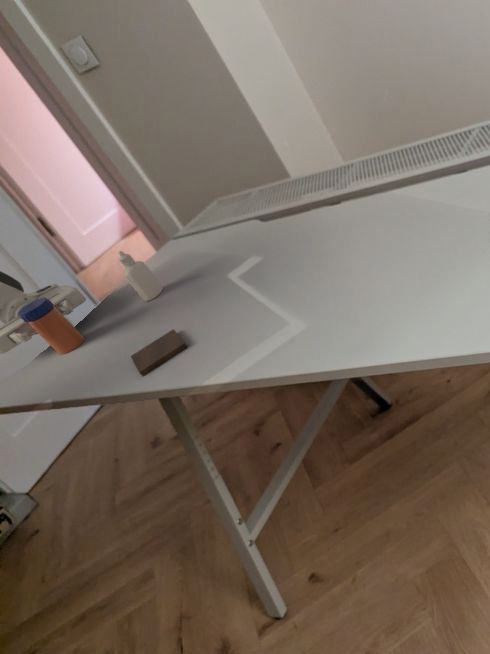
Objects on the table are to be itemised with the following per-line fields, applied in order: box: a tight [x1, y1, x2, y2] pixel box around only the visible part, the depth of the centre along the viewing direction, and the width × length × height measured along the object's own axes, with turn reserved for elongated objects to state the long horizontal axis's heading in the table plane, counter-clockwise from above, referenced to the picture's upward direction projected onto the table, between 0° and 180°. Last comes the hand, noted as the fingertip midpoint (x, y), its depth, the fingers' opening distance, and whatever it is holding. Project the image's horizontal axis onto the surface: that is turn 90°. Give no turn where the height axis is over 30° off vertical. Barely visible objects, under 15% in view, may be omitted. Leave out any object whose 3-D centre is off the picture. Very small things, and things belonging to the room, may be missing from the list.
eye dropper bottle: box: [118, 250, 164, 302], centre depth 124 cm, size 4×6×12 cm
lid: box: [18, 297, 54, 322], centre depth 113 cm, size 6×6×2 cm
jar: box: [27, 306, 85, 355], centre depth 116 cm, size 6×6×11 cm
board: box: [130, 328, 188, 377], centre depth 102 cm, size 9×9×1 cm
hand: (47, 323), depth 117 cm, fingers open, 8 cm apart
